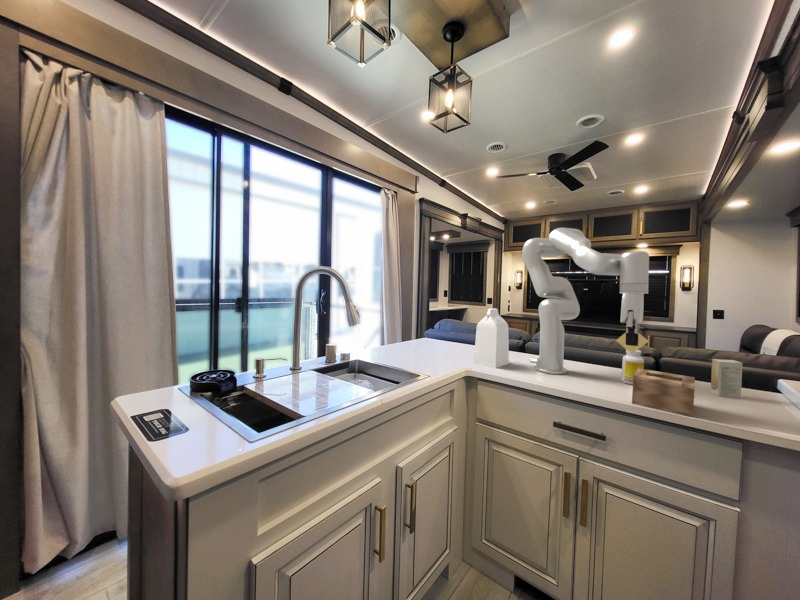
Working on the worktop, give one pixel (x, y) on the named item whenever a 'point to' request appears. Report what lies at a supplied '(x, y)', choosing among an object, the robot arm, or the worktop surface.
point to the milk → (492, 341)
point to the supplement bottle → (631, 365)
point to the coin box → (664, 391)
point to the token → (630, 348)
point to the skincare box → (726, 378)
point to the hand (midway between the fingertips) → (632, 344)
